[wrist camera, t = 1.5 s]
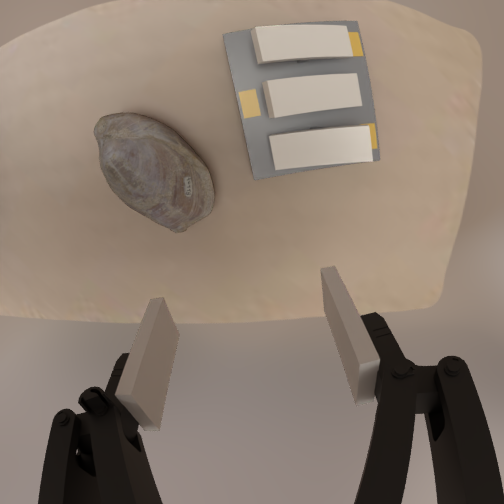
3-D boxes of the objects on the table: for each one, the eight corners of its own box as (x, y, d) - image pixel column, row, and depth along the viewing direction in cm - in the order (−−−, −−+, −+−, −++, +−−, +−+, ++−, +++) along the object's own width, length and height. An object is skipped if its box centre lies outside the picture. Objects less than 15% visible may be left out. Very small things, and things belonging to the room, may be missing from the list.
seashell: (217, 236, 35) (157, 142, 22) (132, 241, 37) (58, 168, 24) (227, 173, 39) (184, 79, 26) (149, 183, 41) (94, 107, 28)
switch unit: (253, 174, 36) (254, 184, 32) (224, 40, 28) (221, 30, 24) (370, 155, 35) (386, 163, 31) (348, 26, 27) (362, 17, 23)
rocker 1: (256, 64, 25) (262, 61, 23) (249, 31, 23) (254, 26, 22) (344, 58, 27) (353, 56, 25) (337, 29, 25) (346, 25, 23)
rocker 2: (268, 118, 27) (274, 117, 26) (260, 83, 26) (267, 80, 24) (353, 106, 29) (362, 105, 28) (347, 74, 27) (356, 73, 26)
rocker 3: (278, 166, 32) (275, 170, 31) (272, 134, 30) (269, 136, 29) (370, 157, 29) (373, 161, 28) (367, 124, 27) (369, 125, 26)
